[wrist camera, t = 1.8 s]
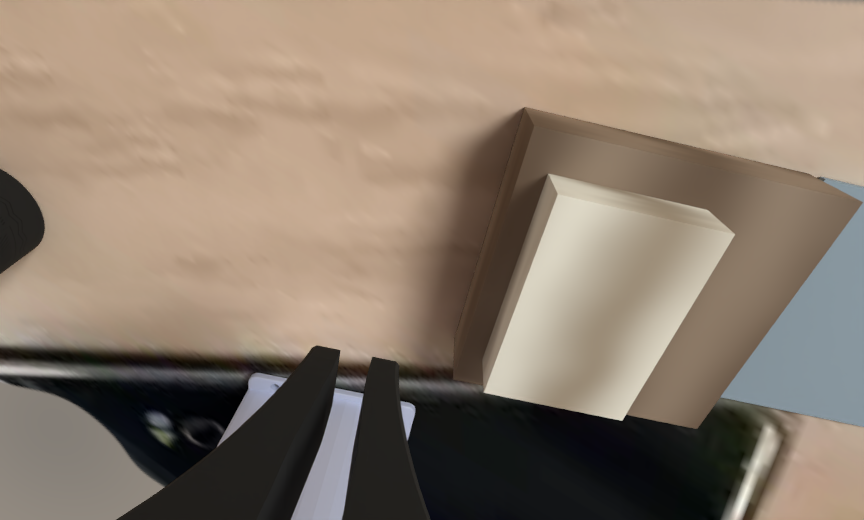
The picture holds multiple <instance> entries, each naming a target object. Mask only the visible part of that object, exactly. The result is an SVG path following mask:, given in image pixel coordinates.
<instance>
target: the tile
mask: <svg viewBox="0 0 864 520" xmlns="http://www.w3.org/2000/svg"><path fill="white" fill-rule="evenodd" d="M734 236H735V234H734V233H733V232H732V231H731V230H730V229H729V228H727V227H726V226H725V225H724V224H723V223H722V222H721V221H720V220H718V219H717V218H716V217H715V216H714V215H713V214H712V213H711V212H709V211H708V210H706V209H702V208H697V207H693V206H688V205H684V204H680V203H675V202H671V201H667V200H662V199H658V198H653V197H649V196H645V195H640V194H636V193H631V192H627V191H623V190H618V189H614V188H610V187H605V186H601V185H596V184H592V183H588V182H583V181H579V180H575V179H570V178H566V177H561V176H557V175H553V174H548V175H547V178H546V181H545V184H544V187H543V190H542V192H541V195H540V198H539V201H538V204H537V207H536V209H535V212H534V215H533V218H532V221H531V224H530V226H529V229H528V232H527V235H526V238H525V241H524V243H523V246H522V249H521V252H520V255H519V258H518V260H517V263H516V266H515V269H514V272H513V274H512V277H511V280H510V283H509V286H508V289H507V291H506V294H505V297H504V300H503V303H502V306H501V308H500V311H499V314H498V317H497V320H496V323H495V325H494V328H493V331H492V334H491V337H490V340H489V342H488V345H487V348H486V351H485V354H484V356H483V359H482V365H483V386H484V393H488V394H493V395H498V396H503V397H507V398H512V399H517V400H522V401H527V402H532V403H537V404H542V405H547V406H552V407H557V408H562V409H567V410H572V411H577V412H582V413H587V414H592V415H596V416H601V417H606V418H611V419H616V420H621V421H622V420H623V419H624V417H625V415H626V414H627V412H628V410H629V409H630V407H631V405H632V404H633V402H634V400H635V399H636V397H637V395H638V394H639V392H640V391H641V389H642V387H643V386H644V384H645V382H646V381H647V379H648V377H649V376H650V374H651V372H652V371H653V369H654V367H655V366H656V364H657V363H658V361H659V359H660V358H661V356H662V354H663V353H664V351H665V349H666V348H667V346H668V344H669V343H670V341H671V339H672V338H673V336H674V335H675V333H676V331H677V330H678V328H679V326H680V325H681V323H682V321H683V320H684V318H685V316H686V315H687V313H688V312H689V310H690V308H691V307H692V305H693V303H694V302H695V300H696V298H697V297H698V295H699V293H700V292H701V290H702V288H703V287H704V285H705V284H706V282H707V280H708V279H709V277H710V275H711V274H712V272H713V270H714V269H715V267H716V265H717V264H718V262H719V260H720V259H721V257H722V256H723V254H724V252H725V251H726V249H727V247H728V246H729V244H730V242H731V241H732V239H733V237H734Z"/></svg>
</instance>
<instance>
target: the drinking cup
mask: <svg viewBox="0 0 864 520" xmlns="http://www.w3.org/2000/svg"><path fill="white" fill-rule="evenodd" d="M43 235H44V220H43V216H42V213H41V211H40V208H39V206H38V205H37V203H36V201H35V200H34V198H33V197H32V196H31V194H30V193H29V192H28V191H27V190H26V188H25V187H24V186H23V185H21V184H20V183H19V182H18V181H17V180H16V179H15V178H13V177H12V176H11V175H9V174H8V173H6V172H4V171H3V170H1V169H0V274H1V273H2V272H3V271H5V270H6V269H7V268H9V267H10V266H11V265H13V264H14V263H15V262H17V261H18V260H19V259H21V258H22V257H23V256H25V255H26V254H27V253H29V252H30V251H31V250H33V249H34V248H35V247H36V246H38V244H39V243H40V242H41V240H42V238H43Z"/></svg>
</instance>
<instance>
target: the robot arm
mask: <svg viewBox="0 0 864 520" xmlns="http://www.w3.org/2000/svg"><path fill="white" fill-rule="evenodd" d="M339 356H340V350H336V349H332V348H327V347H322V346H315V347H313V348H312V349H311V350H310V352H309V353H308V354H307V356H306V357H305V358H304V360H303V361H302V362H301V363H300V365H299V366H298V367H297V368H296V369H295V371H294V372H293V373H292V374H291V375H290V376H289V378H288V379H287V378H282V377H277V376H272V375H267V374H262V373H254V374H252V375H251V377H250V378H249V381H248V391H247V393H246V394H245V396H244V398H243V400H242V402H241V404H240V405H239V407H238V409H237V411H236V413H235V414H234V416H233V418H232V420H231V422H230V424H229V425H228V427H227V429H226V431H225V433H224V434H223V436H222V438H221V440H220V442H219V444H218V445H217V447H216V448H215V449H214V450H213V451H211V452H210V453H209V454H208V455H207V456H205V457H204V458H203V459H202V460H200V461H199V462H198V463H197V464H195V465H194V466H193V467H191V468H190V469H189V470H187V471H186V472H185V473H183V474H182V475H181V476H179V477H178V478H177V479H175V480H174V481H173V482H171V483H170V484H169V485H167V486H166V487H164V488H163V489H162V490H160V491H159V492H157V493H156V494H155V495H153V496H152V497H150V498H149V499H147V500H146V501H144V502H143V503H141V504H140V505H138V506H136V507H135V508H133V509H132V510H130V511H129V512H127V513H126V514H124V515H123V516H121V517H120V518H118V519H117V520H431V519H430V517H429V514H428V511H427V508H426V505H425V502H424V499H423V496H422V493H421V490H420V487H419V484H418V481H417V477H416V474H415V470H414V466H413V462H412V459H411V455H410V451H409V446H408V442H407V440H408V437H409V433H410V430H411V426H412V422H413V419H414V415H415V407H414V405H412V404H411V403H408V402H403V401H400V393H399V365H398V364H397V362H395V361H390V360H385V359H381V358H376V357H372V360H371V364H370V367H369V371H368V375H367V378H366V384H365V389H364V394H363V393H358V392H353V391H348V390H343V389H338V388H335V384H336V377H337V370H338V363H339ZM274 384H276V385H274ZM277 385H278V386H277Z"/></svg>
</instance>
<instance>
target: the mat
mask: <svg viewBox="0 0 864 520" xmlns="http://www.w3.org/2000/svg"><path fill="white" fill-rule="evenodd" d="M819 179H820V180H821V181H823V182H825V183H827V184H829V185H831V186H833V187H835V188H837V189H839V190H841V191H842V192H844V193H846V194H848V195H850V196H852V197H854V198H856V199H858V200H860V201H862V202H863V203H862V205H861V206H860V207H859V209H858V210H857V212H856V213H855V214H854V216H853V217H852V218H851V220H850V221H849V222H848V224H847V225H846V227H845V228H844V229H843V231H842V232H841V233H840V235H839V236H838V237H837V239H836V240H835V242H834V243H833V244H832V246H831V247H830V248H829V250H828V251H827V252H826V254H825V255H824V257H823V258H822V259H821V261H820V262H819V263H818V265H817V266H816V267H815V269H814V270H813V271H812V273H811V274H810V276H809V277H808V278H807V280H806V281H805V282H804V284H803V285H802V286H801V288H800V289H799V291H798V292H797V293H796V295H795V296H794V297H793V299H792V300H791V301H790V303H789V304H788V306H787V307H786V308H785V310H784V311H783V312H782V314H781V315H780V316H779V318H778V319H777V321H776V322H775V323H774V325H773V326H772V327H771V329H770V330H769V331H768V333H767V334H766V335H765V337H764V338H763V340H762V341H761V342H760V344H759V345H758V346H757V348H756V349H755V350H754V352H753V353H752V355H751V356H750V357H749V359H748V360H747V361H746V363H745V364H744V365H743V367H742V368H741V370H740V371H739V372H738V374H737V375H736V376H735V378H734V379H733V380H732V382H731V383H730V385H729V386H728V387H727V389H726V390H725V391H724V393H723V394H722V395H721V397H722V398H727V399H732V400H737V401H741V402H746V403H751V404H756V405H761V406H766V407H770V408H775V409H780V410H785V411H790V412H794V413H799V414H804V415H809V416H814V417H819V418H823V419H828V420H833V421H838V422H843V423H848V424H852V425H857V426H862V427H864V187H862V186H858V185H854V184H850V183H845V182H841V181H837V180H833V179H828V178H824V177H820V178H819Z"/></svg>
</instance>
